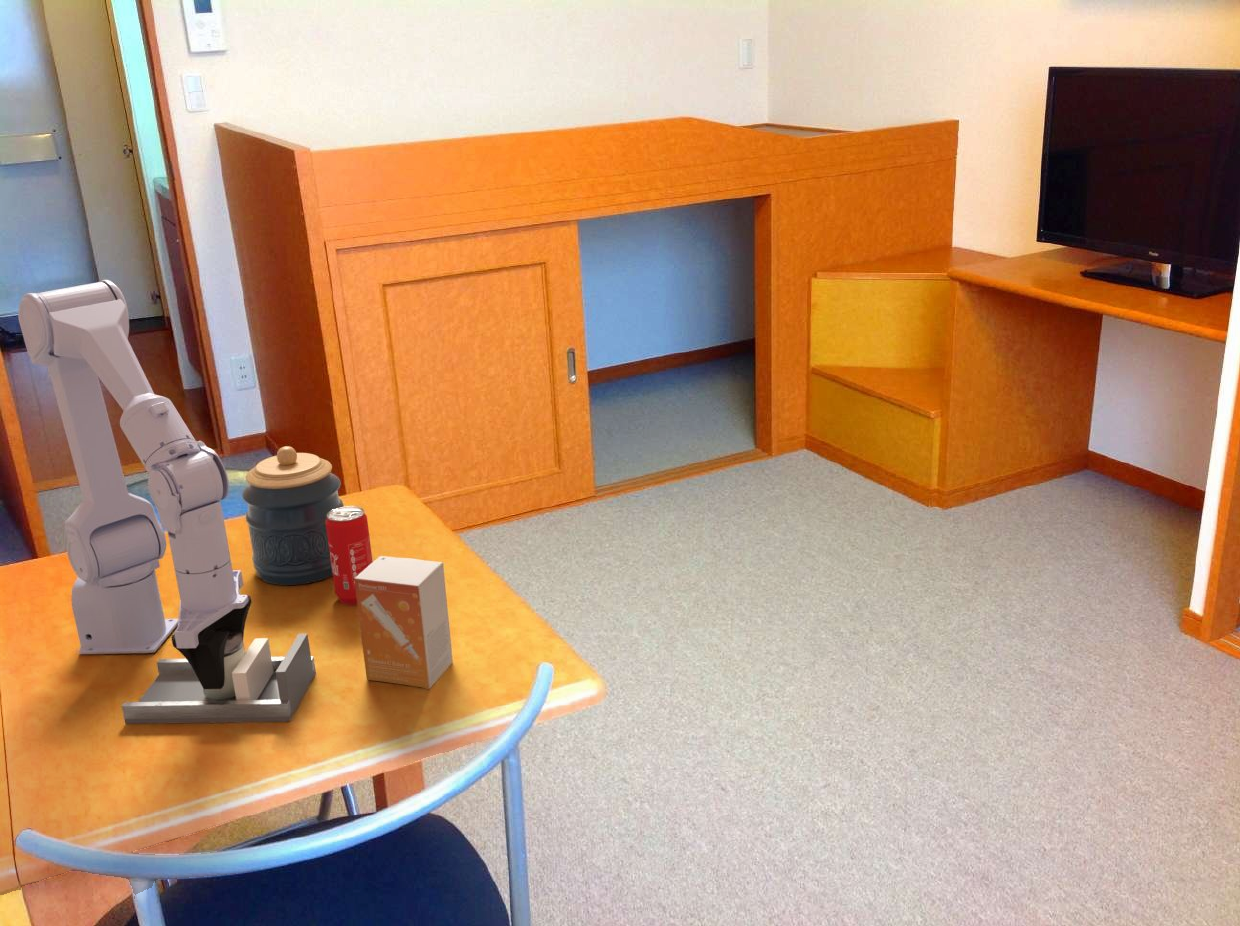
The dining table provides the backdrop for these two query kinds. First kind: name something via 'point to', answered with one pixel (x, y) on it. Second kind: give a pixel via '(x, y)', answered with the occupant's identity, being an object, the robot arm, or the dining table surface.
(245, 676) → the block
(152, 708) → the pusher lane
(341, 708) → the dining table surface
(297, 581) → the canister
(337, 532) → the beverage can
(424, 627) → the small box
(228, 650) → the cream jar with lid
